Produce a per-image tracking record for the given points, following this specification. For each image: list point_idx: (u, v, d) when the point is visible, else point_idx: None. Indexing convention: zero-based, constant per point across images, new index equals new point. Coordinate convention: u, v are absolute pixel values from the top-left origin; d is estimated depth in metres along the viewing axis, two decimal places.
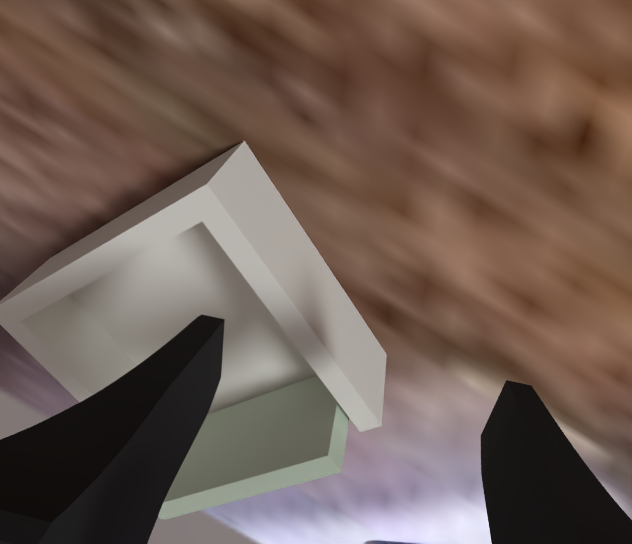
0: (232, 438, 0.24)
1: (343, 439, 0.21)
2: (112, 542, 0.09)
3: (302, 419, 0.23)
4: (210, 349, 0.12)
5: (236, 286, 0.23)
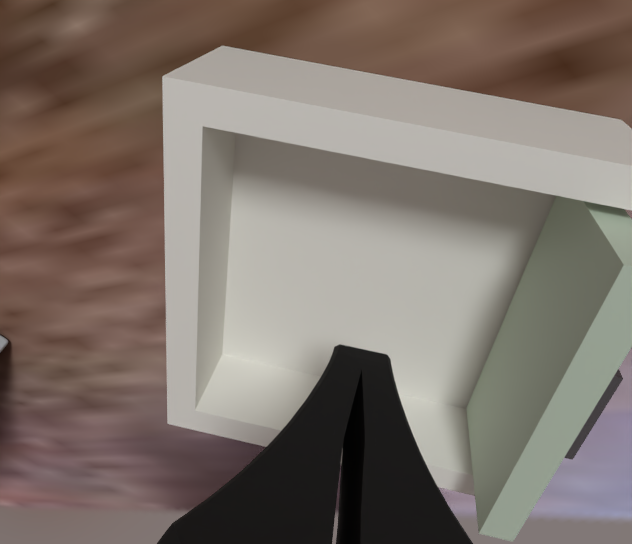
0: (509, 377, 0.16)
1: None
2: None
3: (563, 272, 0.13)
4: (358, 382, 0.12)
5: (353, 200, 0.17)
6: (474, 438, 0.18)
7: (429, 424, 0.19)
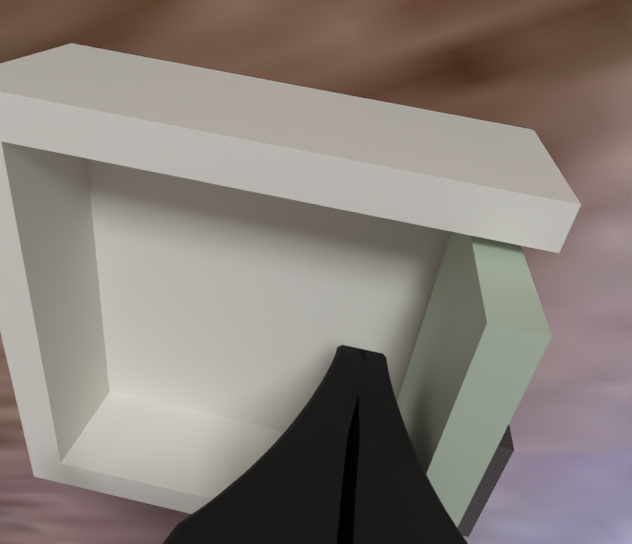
0: None
1: (524, 282, 0.09)
2: None
3: (449, 316, 0.11)
4: None
5: (228, 223, 0.14)
6: None
7: None
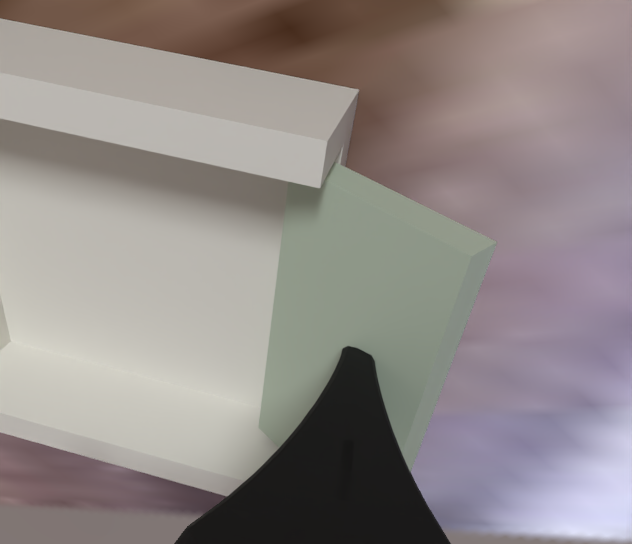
0: None
1: (431, 213, 0.11)
2: None
3: (358, 271, 0.12)
4: None
5: (88, 175, 0.15)
6: None
7: (206, 420, 0.18)
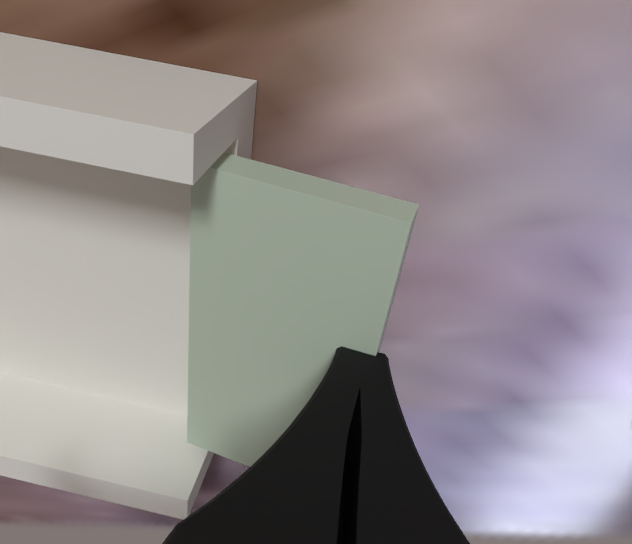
0: (267, 379, 0.14)
1: (353, 190, 0.12)
2: None
3: (291, 260, 0.12)
4: None
5: None
6: (240, 453, 0.16)
7: (123, 430, 0.17)
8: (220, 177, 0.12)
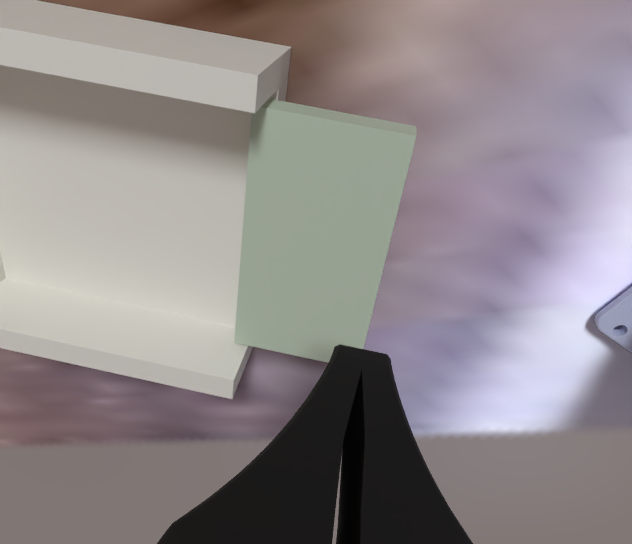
0: (305, 274, 0.19)
1: (369, 119, 0.16)
2: None
3: (328, 173, 0.17)
4: (358, 382, 0.12)
5: (73, 122, 0.19)
6: (280, 343, 0.21)
7: (178, 334, 0.21)
8: (274, 115, 0.16)
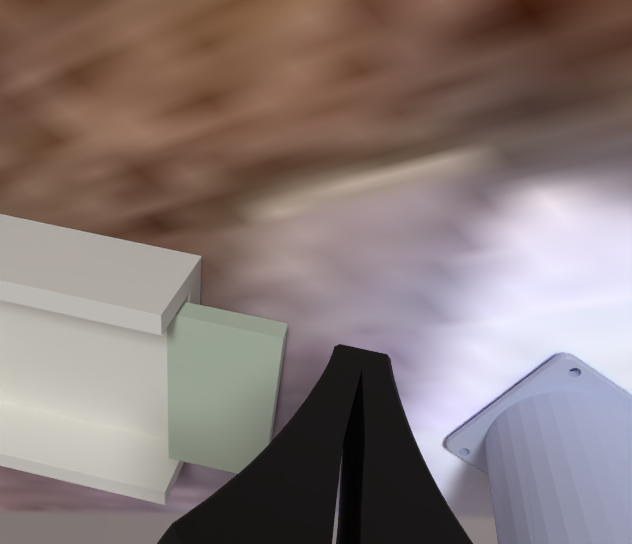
0: (216, 417, 0.25)
1: (253, 318, 0.23)
2: None
3: (224, 356, 0.23)
4: (358, 382, 0.12)
5: None
6: (203, 459, 0.27)
7: (126, 449, 0.28)
8: (182, 320, 0.22)
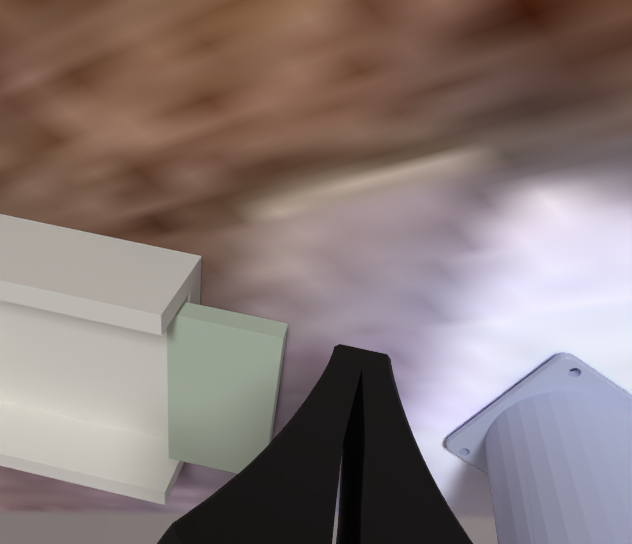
0: (216, 417, 0.25)
1: (253, 318, 0.23)
2: None
3: (224, 356, 0.23)
4: (358, 382, 0.12)
5: None
6: (203, 459, 0.27)
7: (126, 449, 0.28)
8: (182, 320, 0.22)
